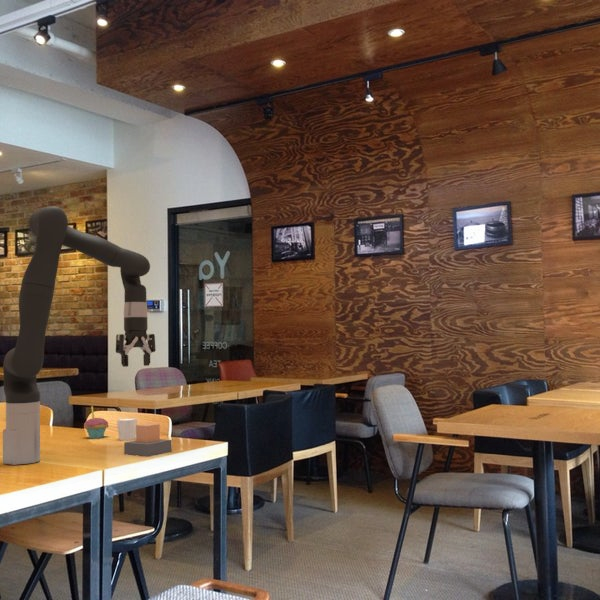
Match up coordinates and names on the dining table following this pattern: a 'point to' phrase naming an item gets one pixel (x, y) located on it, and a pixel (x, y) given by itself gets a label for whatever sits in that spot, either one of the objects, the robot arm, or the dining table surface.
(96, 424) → the cupcake
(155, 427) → the terracotta cube
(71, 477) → the dining table surface
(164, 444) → the charcoal block
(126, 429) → the light grey piece
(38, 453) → the robot arm
